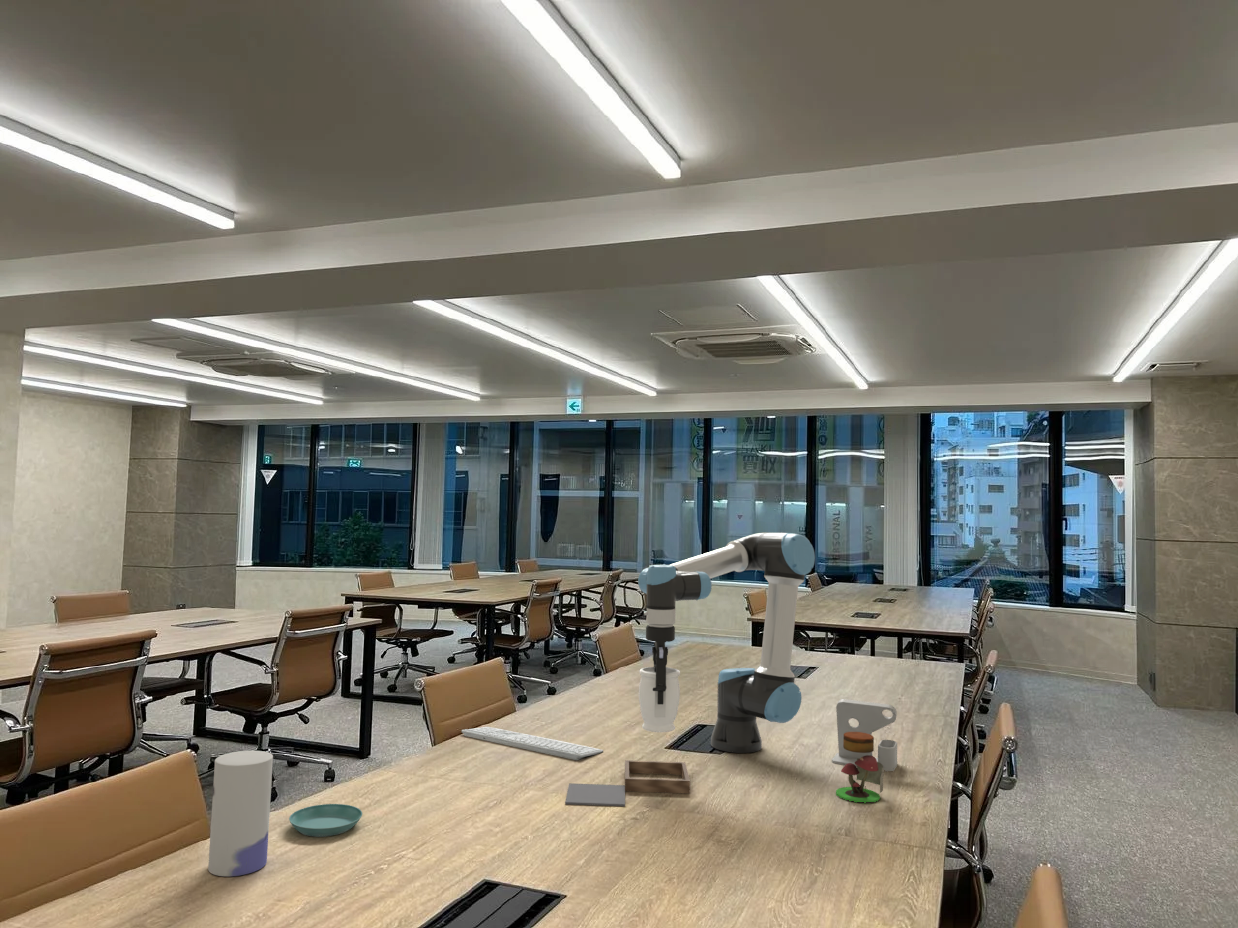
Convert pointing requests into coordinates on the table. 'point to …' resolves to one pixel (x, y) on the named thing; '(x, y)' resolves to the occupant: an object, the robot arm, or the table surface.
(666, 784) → the holder frame
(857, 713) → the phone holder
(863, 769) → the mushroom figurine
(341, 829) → the saucer
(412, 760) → the table surface
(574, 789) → the felt pad
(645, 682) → the jar
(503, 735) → the keyboard
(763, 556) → the robot arm
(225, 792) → the container
